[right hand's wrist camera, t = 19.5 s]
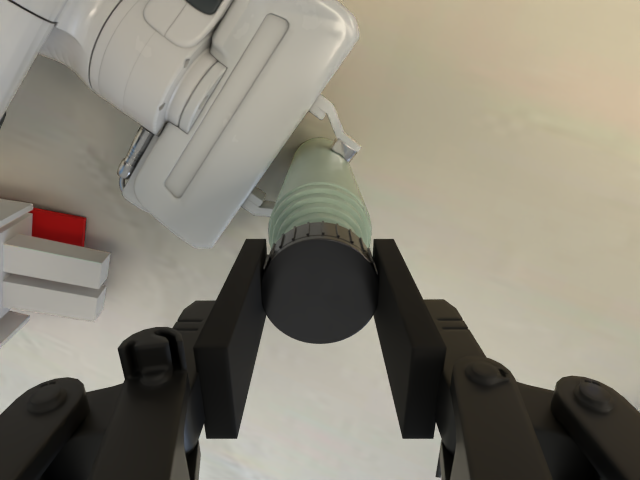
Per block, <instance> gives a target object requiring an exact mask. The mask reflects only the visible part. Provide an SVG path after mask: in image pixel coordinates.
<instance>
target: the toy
mask: <svg viewBox="0 0 640 480" xmlns="http://www.w3.org/2000/svg"><path fill="white" fill-rule="evenodd" d="M85 227H86V218H85V217H79V216H74V215H69V214H64V213H59V212H54V211H48V210H43V209H38V208H33V204H32V203H26V202H19V201H12V200H6V199H0V348H1V347H2V346H3V345H4V344H5V343H6V342H7V341H8V340H9V339H10V338H11V337H12V336H13V335H14V334H15V333H16V332H18V331H19V330H20V329H21V328H22V327H23V326H24V325H25V324H26V323H27V322H28V321H29V318H30V316H29V315H25V314H21V313H17V312H13V311H9V310H10V309H17V310H23V311H29V312H35V313H41V314H47V315H53V316H59V317H65V318H71V319H77V320H84V321H90V322H95V321H96V319H97V318H98V316H99V315H100V313H101V312H102V311H103V308H104V300H105V293H106V286H103V285H102V284H103V283H104V282H105V280H106V279H107V278H108V270H109V263H110V255H111V253H110V252H105V251H100V250H95V249H90V248H85V247H84V240H85Z"/></svg>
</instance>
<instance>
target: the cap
mask: <svg viewBox="0 0 640 480" xmlns="http://www.w3.org/2000/svg"><path fill="white" fill-rule="evenodd" d="M263 271H264V273H263V276H262V279H261V300H262V306H263V309H264V311H265V313H266V315H267V316H268V318H269V319H270V321H271V322H272V323H273V324H274V326H276V327H277V328H278V329H279V330H280V331H282V332H283V333H284V334H286V335H288V336H290V337H291V338H294V339H296V340H299V341H303V342H307V343H313V344H326V343H333V342H337V341H341V340H344V339H346V338H348V337H350V336H352V335H354V334H355V333H357V332H358V331H360V330H361V329H362V328H363V327H364V326H365V325H366V324H367V323H368V322H369V321H370V319H371V318H372V316H373V314H374V313H375V310H376V308H377V305H378V296H379V279H378V273H377V270H376V266H375V263H374V260H373V257H372V254H371V251H370V248H367V246H366V245H365V243H364V242H363V240H362V238H361V237H360V238H359V237H358V236H357V235H356V234H355V233H353V232H352V230H351V229H347V228H345V227H342V226H340V225H339V224H338V223H336V224H333V223H327V222H324V221H322V222H313V223H310V222H307V224H303V225H300V226H297V227H296V226H294V228H293V229H291V230H290V231H288V232H287V233H285V234H284V233H283V234H282V236H281V237H280V239H279V240H278V241H277V242H276V243H273V245H272V249H271V251H270V254H269V255H268V254H267V257H266V260H265V263H264V266H263Z"/></svg>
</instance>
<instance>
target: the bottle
mask: <svg viewBox="0 0 640 480" xmlns="http://www.w3.org/2000/svg"><path fill="white" fill-rule="evenodd" d="M332 143H333V141H332V140H330V139H326V138H313V139H310V140H308V141H306V142H304V143H303V144H302V145H301V146H300V147H299V148H298V149H297V151H296V152H295V154H294V157H293V159H292V162H291V165H290V167H289V170H288V172H287V175H286V177H285V180H284V183H283V185H282V188H281V190H280V193H279V195H278V198H277V201H276V203H275V206H274V208H273V211H272V214H271V216H270V220H269V228H268V232H269V243H270V247H271V249H272V245H273V243H276V242H277V241H278V240H279V239H280V237H281V236H282V234H283V233H284V234H285V233H287V232H288V231H290V230H291V229H293V228H294V226H296V227H297V226H300V225H303V224H307V222H310V223H313V222H322V221H324V222H327V223H333V224H336V223H338V224H339V225H340V226H342V227H345V228H347V229H351V230H352V232H353V233H355V234H356V235H357V236H358V237H359V238H360V237H361V238H362V240H363V242H364V243H365V245H366V246H367V248H369V247H370V242H371V229H372V228H371V221H370V217H369V214H368V211H367V209H366V206H365V203H364V201H363V198H362V196H361V193H360V191H359V188H358V185H357V183H356V180H355V178H354V175H353V173H352V170H351V167H350V165H349V162H347V161H346V160H345V159H344V158H343V157H342V155H339V154H337V153H336V152H334V151H333V150H332V149H331V144H332Z"/></svg>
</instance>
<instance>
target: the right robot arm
mask: <svg viewBox="0 0 640 480" xmlns="http://www.w3.org/2000/svg"><path fill="white" fill-rule="evenodd" d="M266 257H267V248H266V239H246V240H245V242H244V245H243V247H242V249H241V251H240V253H239V255H238V257H237V259H236V261H235V263H234V265H233V267H232V269H231V271H230V273H229V275H228V277H227V279H226V281H225V283H224V285H223V287H222V289H221V291H220V294H219V296H218V298H217V300H216V301H195V302H194V303H192V304H191V305H189V306H188V307H187V308H185V309H184V310H183V312H182V313H181V315H180V317H179V318H178V321H177V322H176V323H175V325H174V326H173V328H169V327H155V328H150V329H145V330H142V331H140V332H138V333H135V334H133V335H131V336H130V337H128V338H127V339H126V340H124V341H123V342H122V343H121V345H120V346H119V347H118V352H119V356H120V360H121V365H122V369H123V373H124V377H125V381H124V383H122V384H119V385H116V386H113V387H108V388H104V389H99V390H95V391H90V392H86V391H85V388H84V384H83V383H82V382H80V381H79V380H78V379H74V378H69V377H67V378H57V379H53V380H49V381H46V382H43V383H41V384H39V385H37V386H35V387H33V388H31V389H29V390H27V391H26V392H25V393H24V394H22V395H21V396H20V397H18V398H17V399H16V400H15V401H14V402H13V403H12V404H11V405H10V406H9V407H8V408H7V409H6V410H5V411H4V412H3V413H2V414H1V415H0V480H198V479H199V468H200V457H201V453H200V446H199V440H198V439H199V436H200V433H201V430H202V428H203V425H205V432H206V439H237V437H238V432H239V428H240V424H241V420H242V416H243V411H244V407H245V403H246V399H247V394H248V390H249V386H250V382H251V377H252V373H253V369H254V365H255V361H256V356H257V352H258V348H259V344H260V339H261V335H262V331H263V327H264V322H265V318H266V313H265V311H264V309H263V306H262V300H261V279H262V276H263V273H264V271H263V266H264V263H265V260H266ZM373 260H374V263H375V266H376V270H377V273H378V279H379V296H378V305H377V308H376V310H375V313H374V314H373V315H374V319H375V323H376V328H377V332H378V336H379V340H380V345H381V349H382V353H383V357H384V362H385V366H386V370H387V374H388V379H389V383H390V387H391V391H392V395H393V400H394V404H395V408H396V412H397V417H398V421H399V425H400V429H401V434H402V438H403V439H433V437H434V430H435V424H437V426H438V429H439V432H440V435H441V438H442V440H441V446H440V453H439V459H438V465H437V471H436V477H439V478H442V480H640V413H639V412H638V411H637V410H636V409H635V408H634V407H633V406H632V405H631V404H630V403H629V402H628V401H627V400H626V399H625V398H624V397H623V396H621V395H620V394H619V393H618V392H616V391H615V390H614V389H612V388H610V387H609V386H607V385H605V384H603V383H601V382H599V381H596V380H592V379H589V378H586V377H579V376H568V377H563V378H561V379H560V380H559V381H558V382H557V383H556V387H555V390H554V391H552V390H548V389H543V388H539V387H534V386H530V385H526V384H522V383H519V382H516V380H515V378H514V376H513V375H512V373H511V372H510V371H509V370H508V369H507V368H506V367H504V366H503V365H502V364H500V363H498V362H496V361H494V360H492V359H490V358H486V356H485V354H484V353H483V351H482V350H481V348H480V346H479V345H478V343H477V341H476V340H475V338H474V337H473V335H472V333H471V332H470V330H469V329H468V327H467V325H466V324H465V322H464V321H463V320H462V317H461V316H460V314H459V312H458V311H457V309H456V308H455V307H453V306H452V305H451V304H449V303H448V302H447V301H445V300H423V298H422V296H421V294H420V292H419V290H418V288H417V286H416V284H415V282H414V280H413V278H412V276H411V274H410V272H409V270H408V268H407V265H406V263H405V261H404V259H403V257H402V255H401V253H400V251H399V249H398V247H397V245H396V243H395V241H394V239H374V243H373Z"/></svg>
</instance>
